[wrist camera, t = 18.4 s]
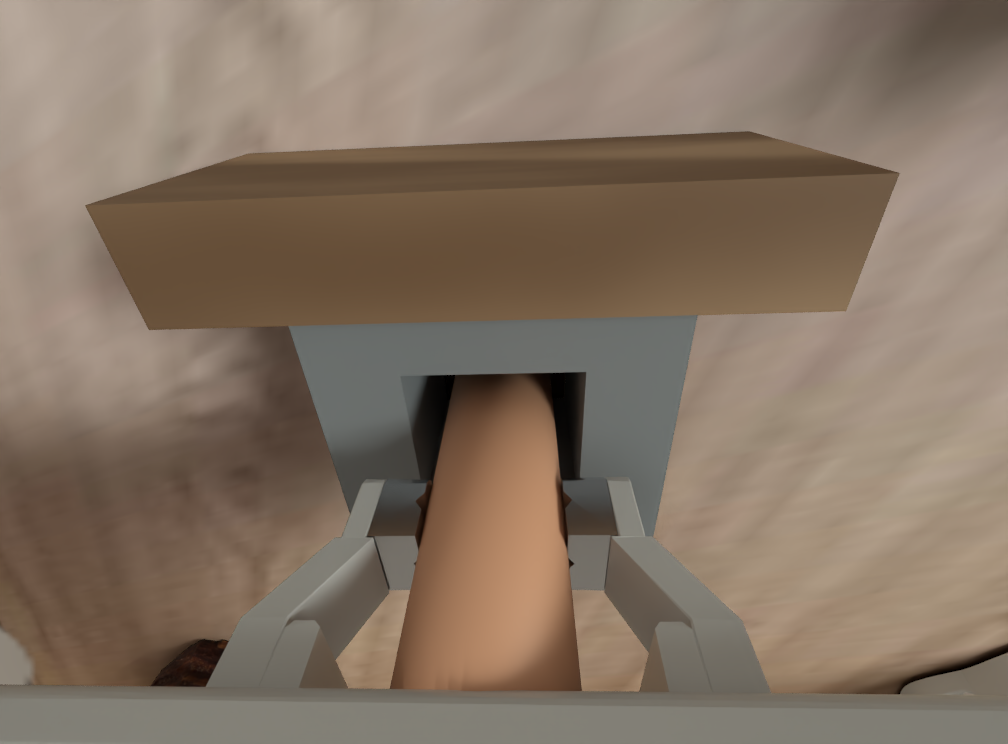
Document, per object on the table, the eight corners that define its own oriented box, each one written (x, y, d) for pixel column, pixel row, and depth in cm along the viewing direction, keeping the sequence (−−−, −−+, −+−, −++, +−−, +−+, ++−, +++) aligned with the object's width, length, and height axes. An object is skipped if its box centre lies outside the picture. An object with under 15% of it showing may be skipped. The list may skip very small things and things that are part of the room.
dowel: (548, 400, 16) (595, 933, 6) (463, 401, 16) (374, 924, 6) (549, 323, 15) (613, 877, 5) (454, 325, 15) (318, 868, 5)
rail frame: (658, 552, 23) (698, 691, 18) (372, 553, 23) (332, 687, 18) (749, 131, 13) (899, 172, 8) (248, 153, 13) (85, 205, 8)
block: (621, 433, 18) (652, 541, 14) (395, 437, 19) (359, 543, 15) (646, 229, 14) (700, 297, 10) (351, 239, 14) (283, 309, 10)
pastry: (192, 621, 28) (121, 740, 23) (371, 683, 31) (344, 798, 27) (145, 688, 33) (78, 798, 28) (305, 735, 36) (271, 839, 32)
